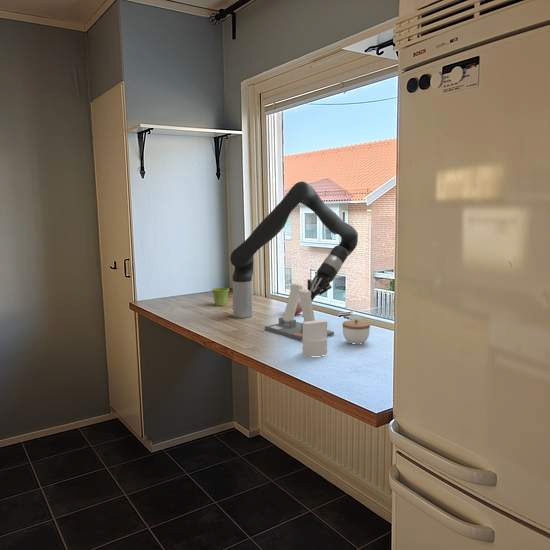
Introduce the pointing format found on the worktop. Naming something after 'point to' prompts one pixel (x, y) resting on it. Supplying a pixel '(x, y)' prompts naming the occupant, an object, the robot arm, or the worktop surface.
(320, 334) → the white rectangular block
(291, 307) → the lever unmarked
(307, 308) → the lever marked
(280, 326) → the switch base
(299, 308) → the decorative fruit
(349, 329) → the lidded jar
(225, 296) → the plant pot
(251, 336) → the worktop surface
